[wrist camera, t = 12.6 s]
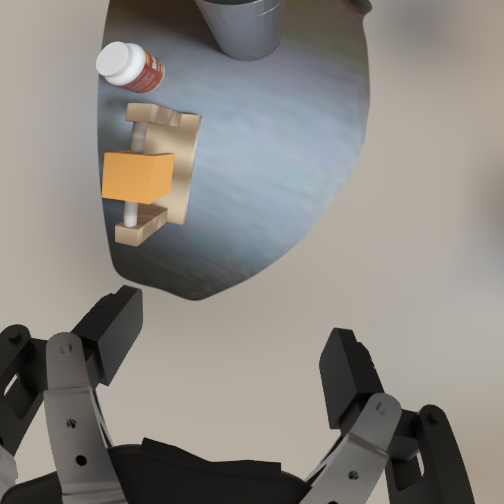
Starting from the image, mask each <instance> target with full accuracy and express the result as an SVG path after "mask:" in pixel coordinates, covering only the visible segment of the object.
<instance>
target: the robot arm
mask: <svg viewBox="0 0 504 504" xmlns="http://www.w3.org/2000/svg"><path fill="white" fill-rule="evenodd" d="M194 1H195V3H196V4H197V6H198V8H199V10H200V12H201V13H202V15H203V17H204V19H205V21H206V23H207V24H208V26H209V28H210V30H211V32H212V34H213V36H214V38H215V40H216V42H217V44H218V45H219V47H220V49H221V50H222V51H223V52H224V53H225V54H226V55H228V56H229V57H232V58H234V59H238V60H244V61H251V60H257V59H261V58H263V57H265V56H267V55H269V54H270V53H272V52H273V51H274V50H275V49H276V47H277V46H278V44H279V42H280V37H281V30H282V22H283V14H284V6H285V0H194ZM142 324H143V305H142V291H141V289H138V288H135V287H131V286H127V285H123V286H122V287H121V288H120V289H119V290H118V292H117V293H116V294H112V293H110V294H109V295H106V296H104V297H102V298H101V299H100V300H99V301H98V302H97V303H96V304H95V306H94V307H92V309H91V310H90V311H89V312H88V313H87V314H86V315H85V316H84V317H83V318H82V320H81V321H80V322H79V323H78V324H77V325H76V326H75V328H74V329H73V330H72V331H71V332H70V333H69V332H61V333H57V334H55V335H53V336H52V337H51V338H50V339H49V340H41V339H35V338H31V335H30V332H29V330H28V328H27V327H25V326H23V325H19V324H16V325H11V326H9V327H7V328H5V330H3V331H2V332H1V333H0V504H365V503H366V501H367V499H368V498H369V496H370V494H371V492H372V491H373V489H374V487H375V485H376V483H377V481H378V480H379V478H380V476H381V474H382V472H383V469H384V468H385V474H386V480H387V487H388V494H389V501H390V504H475V502H474V498H473V494H472V490H471V487H470V482H469V479H468V476H467V472H466V469H465V466H464V463H463V460H462V457H461V454H460V451H459V448H458V445H457V442H456V440H455V437H454V435H453V432H452V429H451V426H450V424H449V421H448V419H447V417H446V414H445V413H444V412H443V410H442V409H440V408H439V407H437V406H435V405H430V404H429V405H425V406H424V407H423V408H422V409H421V410H420V411H419V412H413V411H409V410H404V409H402V408H401V405H400V403H399V402H398V401H397V400H396V399H395V398H394V397H393V396H391V395H389V394H386V393H385V392H384V390H383V387H382V384H381V382H380V379H379V377H378V374H377V372H376V369H374V364H373V362H372V359H371V356H370V354H369V351H368V350H367V349H366V348H365V347H364V345H362V343H361V342H357V340H356V338H355V335H354V333H353V331H352V330H350V329H342V328H334V329H333V330H332V332H331V334H330V336H329V339H328V341H327V343H326V345H325V347H324V350H323V352H322V354H321V357H320V362H319V369H320V374H321V379H322V385H323V391H324V396H325V402H326V407H327V413H328V420H329V426H330V429H340V430H341V435H340V436H339V437H338V438H337V440H336V441H335V443H334V444H333V445H332V447H331V448H330V449H329V451H328V452H327V454H326V455H325V456H324V458H323V459H322V460H321V461H320V463H319V464H318V465H317V467H316V468H315V469H314V470H313V471H312V472H311V473H310V474H309V476H307V478H306V479H305V480H304V481H303V480H302V479H300V478H299V477H296V476H294V475H292V474H290V473H287V472H284V471H281V463H279V462H265V461H254V460H240V461H223V462H211V461H207V460H204V459H202V458H200V457H198V456H195V455H193V454H191V453H189V452H187V451H184V450H182V449H180V448H178V447H176V446H172V445H168V444H165V443H161V442H158V441H154V440H151V439H148V438H143V441H142V444H141V445H139V444H126V445H119V446H114V445H113V442H112V440H111V437H110V435H109V433H108V430H107V427H106V424H105V420H104V417H103V414H102V411H101V407H100V404H99V400H98V396H97V393H96V387H97V385H98V384H99V383H101V384H104V385H106V386H109V384H110V383H111V381H112V379H113V377H114V375H115V374H116V372H117V370H118V369H119V367H120V365H121V363H122V362H123V360H124V358H125V356H126V355H127V353H128V351H129V350H130V348H131V346H132V344H133V343H134V341H135V340H136V338H137V336H138V335H139V333H140V331H141V328H142ZM15 374H16V376H17V379H16V380H15V381H14V383H13V384H12V386H11V387H10V389H9V391H8V392H7V393H6V395H5V396H4V392H5V389H6V387H7V386H8V384H9V383H10V381H11V380H12V378H13V377H14V376H15ZM43 400H44V405H45V414H46V421H47V428H48V434H49V439H50V444H51V449H52V454H53V458H54V462H55V466H56V470H57V471H55V472H52V473H50V474H47V475H44V476H42V477H39V478H36V479H33V480H30V481H27V482H24V483H20V484H17V485H16V484H15V480H16V479H17V478H18V472H17V470H16V469H17V468H16V462H15V460H14V456H15V454H16V451H17V449H18V447H19V445H20V443H21V441H22V439H23V437H24V435H25V433H26V431H27V429H28V427H29V425H30V424H31V422H32V420H33V418H34V416H35V414H36V413H37V411H38V409H39V407H40V405H41V404H42V402H43ZM419 452H420V453H421V457H422V461H423V465H424V474H423V476H421V472H420V467H419V463H418V459H417V454H418V453H419Z"/></svg>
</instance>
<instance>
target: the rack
mask: <svg viewBox="0 0 504 504" xmlns="http://www.w3.org/2000/svg"><path fill="white" fill-rule="evenodd" d="M201 118H202V116H199V115H191V114H182V113H179V112H176V111H173V110H170V109H167V108H164V107H161V106H158V105H155V104H147V103H128V107H127V112H126V118H125V121H131V122H134V123H133V129H132V136H131V143H130V151H129V153H133V154H145V155H150V154H159V153H173V154H175V157H174V165H173V172H172V180H171V189H170V193H168V194H166V195H164V196H163V197H161V198H159V199H157V200H155V201H153V202H152V203H150V204H144V203H138V202H131V201H125V205H124V221H123V222H121V223H119V224H118V225H116V226H115V242H119V243H123V244H128V245H132V246H138V245H139V244H141V243H142V242H143V241H144V240H145V239H146V238H148V237H149V236H150V235H151V234H152V233H154V232H155V231H156V230H157V229H158V228H160V227H161V226H162V225H163V224H165V223H166V222H171V223H177V224H182V225H183V224H184V223H185V220H186V212H187V204H188V197H189V190H190V183H191V176H192V169H193V163H194V157H195V151H196V145H197V139H198V134H199V128H200V123H201Z"/></svg>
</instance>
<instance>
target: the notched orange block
mask: <svg viewBox="0 0 504 504" xmlns="http://www.w3.org/2000/svg"><path fill="white" fill-rule="evenodd" d="M129 151H130V150H125V151H115V152H106V153H105V157H104V168H103V183H102V197H103V198H110V199H117V200H124V201H131V202H138V203H144V204H150V203H152V202H153V201H155V200H157V199H159V198H161V197H163V196H164V195H166V194H168V193H170V189H171V180H172V172H173V165H174V157H175V154H173V153H159V154H150V155H145V154H133V153H129Z"/></svg>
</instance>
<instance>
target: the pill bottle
mask: <svg viewBox="0 0 504 504" xmlns="http://www.w3.org/2000/svg"><path fill="white" fill-rule="evenodd" d="M96 69H97V71H98V73H99V74H101V75H103V76H104V77H105V79H106V80H107V81H108V82H109V83H110V84H113V85H115V86H119V87H122V88H125V89H128V90H131V91H134V92H137V93H148V92H151V91H153V90H154V89H156V88H157V87H158V86H159V85H160V83H161V82H162V80H163V78H164V74H165V68H164V65H163V63H162V62H161V61H160V60H159V59H158V58H156V57H155V56H153V55H152V54H151V53H149V52H148V51H146V50H145V49H143V48H142V47H140V46H138V45H136V44H132V43H127V44H125V43H122V42H113V43H111V44H109V45H107V46H106V47H105V48H104V49H103V50H102V51H101V52H100V54H99V55H98V57H97V60H96Z"/></svg>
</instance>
